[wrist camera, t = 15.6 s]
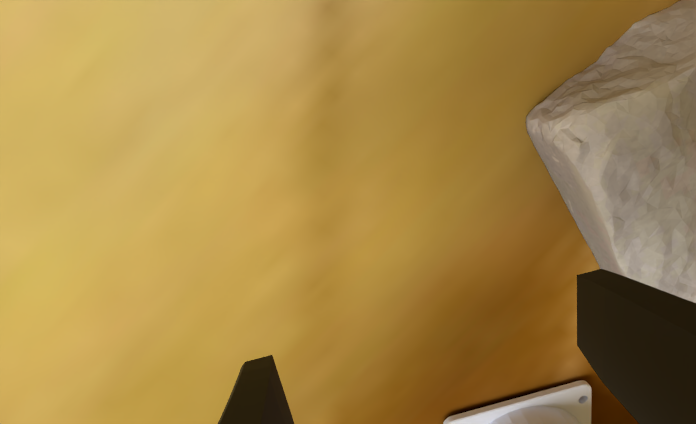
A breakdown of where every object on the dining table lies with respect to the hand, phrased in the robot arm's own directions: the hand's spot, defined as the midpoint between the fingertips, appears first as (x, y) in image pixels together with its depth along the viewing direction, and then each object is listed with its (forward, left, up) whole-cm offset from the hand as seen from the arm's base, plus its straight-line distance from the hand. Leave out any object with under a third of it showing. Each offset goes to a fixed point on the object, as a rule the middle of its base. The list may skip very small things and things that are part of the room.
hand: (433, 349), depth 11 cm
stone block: (-1, -14, -10) cm, 17 cm away
